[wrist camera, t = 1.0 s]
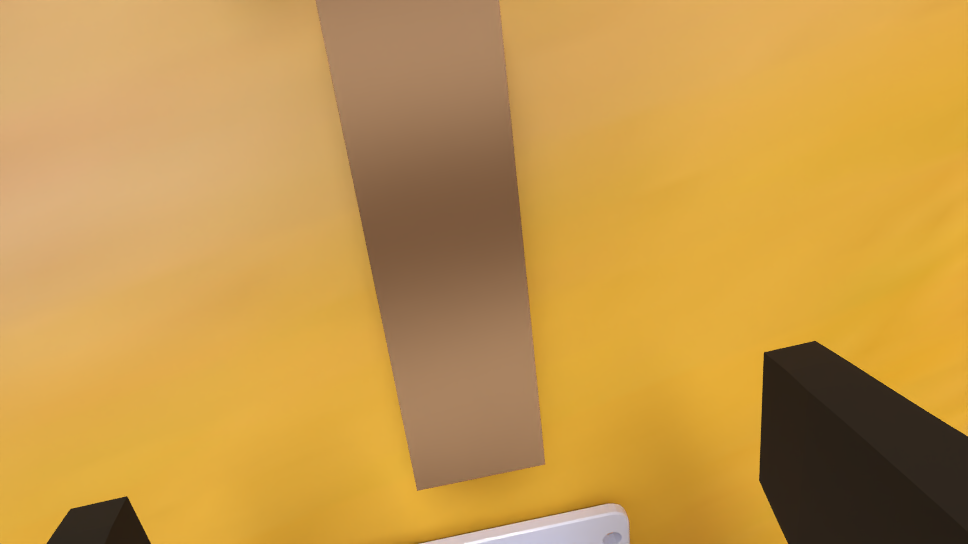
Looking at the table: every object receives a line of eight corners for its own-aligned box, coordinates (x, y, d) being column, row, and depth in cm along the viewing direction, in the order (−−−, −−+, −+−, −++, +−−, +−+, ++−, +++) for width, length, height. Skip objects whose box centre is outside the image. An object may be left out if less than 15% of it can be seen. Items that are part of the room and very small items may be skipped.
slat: (495, 313, 21) (544, 464, 17) (393, 333, 21) (417, 490, 17) (437, -157, 16) (488, -108, 12) (298, -137, 16) (298, -80, 11)
